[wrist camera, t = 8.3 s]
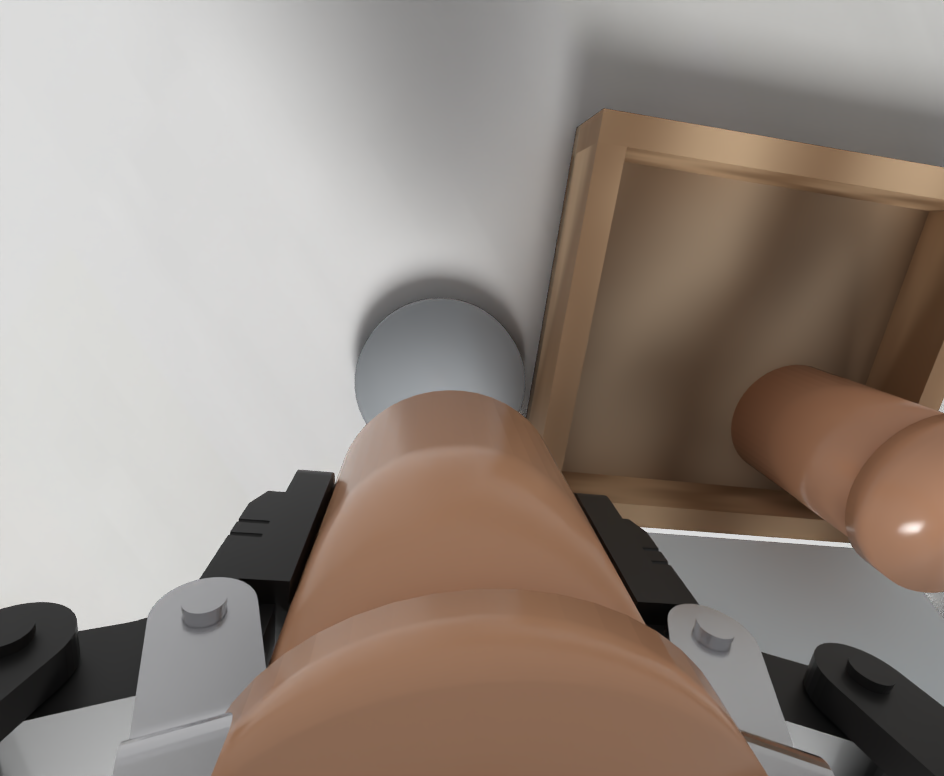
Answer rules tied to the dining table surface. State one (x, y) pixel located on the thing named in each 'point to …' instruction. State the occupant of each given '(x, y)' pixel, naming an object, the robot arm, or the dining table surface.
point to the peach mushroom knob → (470, 625)
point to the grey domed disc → (437, 356)
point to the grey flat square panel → (812, 601)
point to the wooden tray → (725, 308)
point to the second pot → (853, 465)
